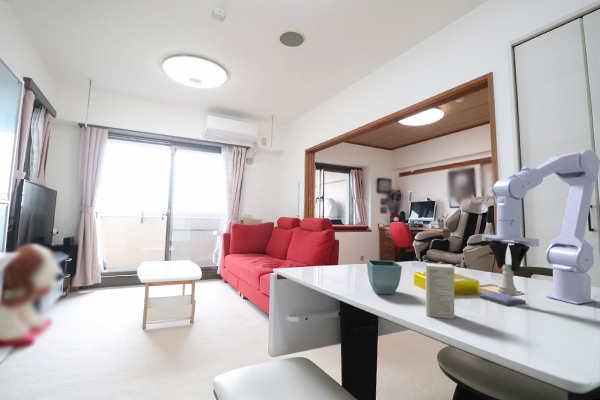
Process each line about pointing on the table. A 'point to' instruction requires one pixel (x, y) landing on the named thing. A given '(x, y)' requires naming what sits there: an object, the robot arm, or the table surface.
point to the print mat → (494, 289)
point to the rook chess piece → (507, 281)
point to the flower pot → (384, 276)
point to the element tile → (460, 283)
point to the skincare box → (440, 290)
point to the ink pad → (502, 299)
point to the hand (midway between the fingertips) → (508, 269)
